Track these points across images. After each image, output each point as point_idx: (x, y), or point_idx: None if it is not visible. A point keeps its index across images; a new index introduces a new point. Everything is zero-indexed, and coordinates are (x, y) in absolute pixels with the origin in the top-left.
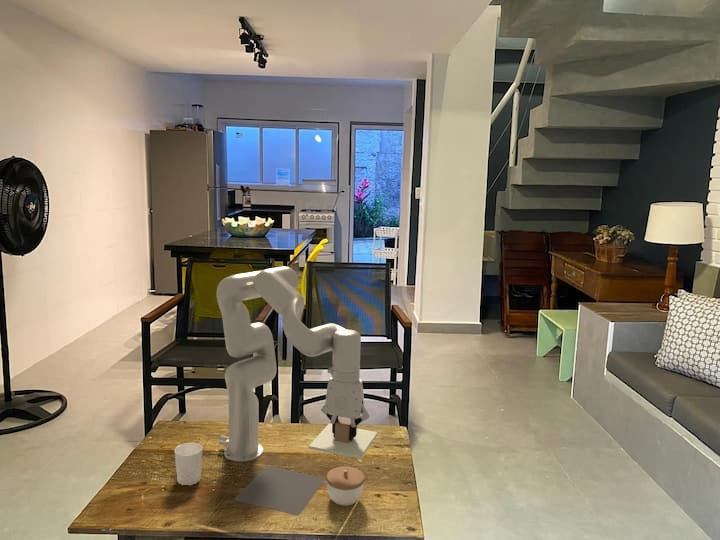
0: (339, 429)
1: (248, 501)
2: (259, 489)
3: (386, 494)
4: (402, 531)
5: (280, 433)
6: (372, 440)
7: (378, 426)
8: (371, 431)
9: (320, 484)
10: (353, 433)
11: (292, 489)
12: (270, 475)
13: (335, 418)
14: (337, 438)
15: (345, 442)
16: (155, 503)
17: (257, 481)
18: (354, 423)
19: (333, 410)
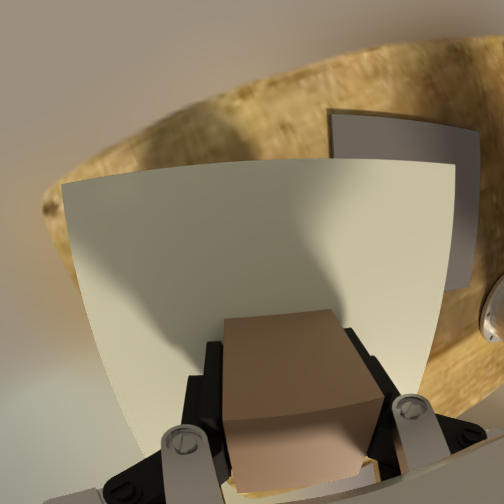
0: (321, 371)
1: (456, 134)
2: (457, 188)
3: None
4: (60, 188)
5: (457, 395)
6: (122, 402)
7: (287, 491)
8: None
9: None
10: (197, 391)
11: None
12: (454, 254)
13: (403, 444)
14: (316, 322)
15: (247, 318)
16: None
17: (469, 218)
18: (169, 460)
19: (487, 502)
